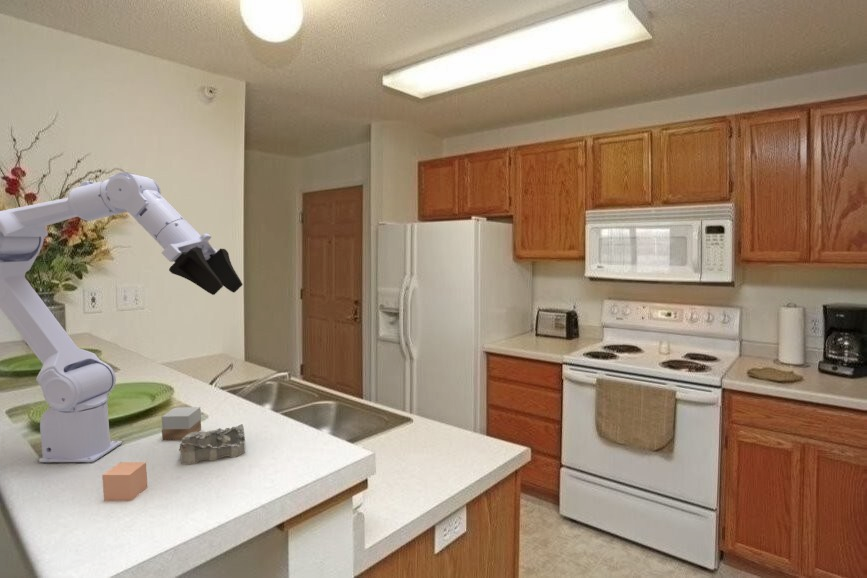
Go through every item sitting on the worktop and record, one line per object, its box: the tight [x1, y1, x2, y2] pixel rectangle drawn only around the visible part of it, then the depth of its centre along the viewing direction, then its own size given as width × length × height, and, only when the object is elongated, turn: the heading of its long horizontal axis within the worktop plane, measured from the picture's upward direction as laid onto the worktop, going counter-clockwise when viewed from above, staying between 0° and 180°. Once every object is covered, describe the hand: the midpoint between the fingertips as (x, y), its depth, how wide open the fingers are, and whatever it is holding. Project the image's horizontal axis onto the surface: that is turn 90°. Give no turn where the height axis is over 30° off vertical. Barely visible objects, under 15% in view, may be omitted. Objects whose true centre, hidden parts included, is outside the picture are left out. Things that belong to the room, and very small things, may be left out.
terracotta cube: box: [101, 461, 148, 502], centre depth 73 cm, size 4×4×4 cm
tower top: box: [161, 406, 202, 430], centre depth 95 cm, size 5×5×2 cm
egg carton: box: [178, 423, 246, 465], centre depth 87 cm, size 11×8×4 cm
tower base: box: [161, 419, 202, 441], centre depth 95 cm, size 5×5×2 cm
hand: (228, 289), depth 82 cm, fingers open, 7 cm apart
